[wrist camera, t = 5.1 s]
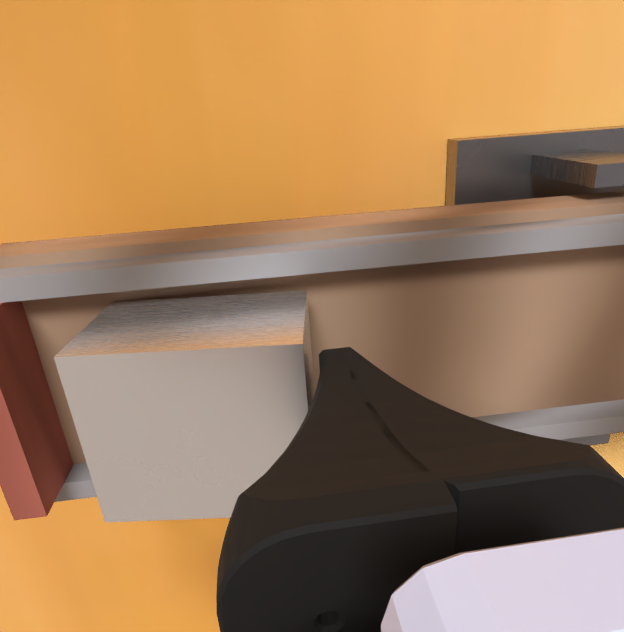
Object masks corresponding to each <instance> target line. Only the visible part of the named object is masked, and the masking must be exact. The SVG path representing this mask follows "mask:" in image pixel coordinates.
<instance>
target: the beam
mask: <svg viewBox="0 0 624 632" xmlns="http://www.w3.org/2000/svg"><path fill="white" fill-rule="evenodd" d="M291 291H307V299H308V312H309V325H310V338H311V351H312V364H313V377H314V390H315V391H316V388H317V384H318V380H319V375H320V367H319V354H320V353H321V351H322V350H326V349H335V348H343V347H351V348H352V349H354V350H355V351H356V352H358V353H359V354H360V355H362V356H363V357H364V358H365V359H367V360H368V361H369V362H371V363H372V364H373V365H375V366H376V367H378V368H379V369H380V370H382V371H383V372H385V373H386V374H387V375H389V376H390V377H392V378H393V379H395V380H397V381H398V382H400V383H401V384H403V385H405V386H406V387H408V388H410V389H411V390H413V391H415V392H417V393H418V394H420V395H422V396H424V397H426V398H428V399H430V400H432V401H434V402H436V403H438V404H440V405H443V406H445V407H447V408H449V409H451V410H454V411H456V412H459V413H461V414H464V415H467V416H469V417H472V418H475V419H478V420H481V421H484V422H486V423H490V424H493V425H496V426H500V427H503V428H506V429H510V430H514V431H518V432H522V433H526V434H530V435H535V436H539V437H545V438H551V439H556V440H562V439H570V438H578V437H586V436H594V435H603V434H611V433H619V432H624V191H614V192H602V193H591V194H579V195H567V196H556V197H544V198H532V199H520V200H509V201H497V202H485V203H473V204H462V205H450V206H438V207H426V208H415V209H403V210H391V211H379V212H368V213H356V214H344V215H333V216H321V217H309V218H297V219H286V220H274V221H262V222H250V223H239V224H227V225H215V226H203V227H192V228H180V229H168V230H156V231H145V232H133V233H121V234H110V235H98V236H86V237H74V238H63V239H51V240H39V241H27V242H16V243H4V244H1V245H0V486H1V488H2V491H3V493H4V496H5V498H6V501H7V503H8V506H9V508H10V511H11V513H12V516H13V518H14V520H20V519H28V518H36V517H44V516H47V515H48V513H49V511H50V509H51V507H52V505H53V503H54V502H57V501H65V500H73V499H82V498H90V497H97V495H96V491H95V488H94V485H93V482H92V479H91V475H90V472H89V469H88V466H87V463H86V459H85V456H84V453H83V450H82V447H81V443H80V440H79V437H78V434H77V431H76V427H75V424H74V421H73V418H72V415H71V411H70V408H69V405H68V402H67V399H66V395H65V392H64V389H63V386H62V383H61V379H60V376H59V373H58V370H57V367H56V363H55V360H54V356H55V355H56V354H57V353H59V352H60V351H61V350H62V349H63V348H64V347H65V346H66V345H67V344H68V343H69V342H70V341H71V340H72V339H73V338H74V337H76V336H77V335H78V334H79V333H80V332H81V331H82V330H83V329H84V328H85V327H86V326H87V325H88V324H89V323H90V322H92V321H93V320H94V319H95V318H96V317H97V316H98V315H99V314H100V313H101V312H102V311H103V310H104V309H105V308H106V307H107V306H109V305H110V304H111V303H112V302H119V301H136V300H153V299H171V298H188V297H205V296H222V295H239V294H257V293H274V292H291Z"/></svg>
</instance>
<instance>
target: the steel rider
mask: <svg viewBox="0 0 624 632" xmlns="http://www.w3.org/2000/svg"><path fill="white" fill-rule="evenodd" d="M54 360H55V363H56V367H57V370H58V373H59V376H60V379H61V383H62V386H63V389H64V392H65V395H66V399H67V402H68V405H69V408H70V411H71V415H72V418H73V421H74V424H75V427H76V431H77V434H78V437H79V440H80V443H81V447H82V450H83V453H84V456H85V459H86V463H87V466H88V469H89V472H90V475H91V479H92V482H93V485H94V488H95V491H96V495H97V498H98V501H99V504H100V507H101V511H102V514H103V517H104V520H105V522H126V521H152V520H178V519H205V518H231V515H232V512H233V509H234V507H235V504H236V501H237V498H238V496H239V495H240V494H241V493H242V492H244V491H245V490H246V489H248V488H249V487H250V486H251V485H252V484H253V483H255V482H256V481H257V480H258V479H259V478H261V477H262V476H263V475H264V474H265V473H266V472H267V471H268V470H269V469H270V467H271V466H272V465H273V464H274V463H275V462H276V461H277V459H278V458H279V457H280V456H281V455H282V454H283V452H284V451H285V450H286V448H287V447H288V446H289V444H290V443H291V441H292V439H293V438H294V436H295V435H296V433H297V432H298V430H299V428H300V426H301V424H302V423H303V421H304V419H305V417H306V415H307V412H308V410H309V408H310V405H311V402H312V400H313V397H314V394H315V390H314V377H313V364H312V351H311V338H310V325H309V312H308V299H307V291H291V292H274V293H257V294H239V295H222V296H205V297H188V298H171V299H153V300H136V301H119V302H112V303H111V304H110V305H109V306H107V307H106V308H105V309H104V310H103V311H102V312H101V313H100V314H99V315H98V316H97V317H96V318H95V319H94V320H93V321H92V322H90V323H89V324H88V325H87V326H86V327H85V328H84V329H83V330H82V331H81V332H80V333H79V334H78V335H77V336H76V337H74V338H73V339H72V340H71V341H70V342H69V343H68V344H67V345H66V346H65V347H64V348H63V349H62V350H61V351H60V352H59V353H57V354H56V355H55V356H54Z"/></svg>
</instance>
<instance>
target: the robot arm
mask: <svg viewBox="0 0 624 632" xmlns="http://www.w3.org/2000/svg"><path fill="white" fill-rule="evenodd" d="M319 367H320V375H319V380H318V384H317V388H316V391H315V394H314V397H313V400H312V402H311V405H310V408H309V410H308V412H307V415H306V417H305V419H304V421H303V423H302V424H301V426H300V428H299V430H298V432H297V433H296V435H295V436H294V438H293V439H292V441H291V443H290V444H289V446H288V447H287V448H286V450H285V451H284V452H283V454H282V455H281V456H280V457H279V458H278V459H277V461H276V462H275V463H274V464H273V465H272V466H271V467H270V469H269V470H268V471H267V472H266V473H265V474H264V475H263V476H262V477H261V478H259V479H258V480H257V481H256V482H255V483H253V484H252V485H251V486H250V487H249V488H248V489H246V490H245V491H244V492H242V493H241V494H240V495H239V496H238V498H237V501H236V504H235V507H234V509H233V512H232V515H231V518H230V521H229V524H228V527H227V531H226V534H225V538H224V542H223V546H222V550H221V555H220V560H219V566H218V577H217V617H218V622H219V626H220V631H221V632H624V478H623V477H622V476H621V475H620V474H619V473H618V472H617V471H616V470H615V469H614V468H613V467H612V466H611V465H610V464H608V463H607V462H606V461H605V460H604V459H603V458H602V457H601V456H600V455H599V454H598V453H597V452H596V451H595V450H594V449H593V448H592V447H590V446H589V445H585V444H579V443H573V442H568V441H562V440H556V439H551V438H545V437H539V436H535V435H530V434H526V433H522V432H518V431H514V430H510V429H506V428H503V427H500V426H496V425H493V424H490V423H486V422H484V421H481V420H478V419H475V418H472V417H469V416H467V415H464V414H461V413H459V412H456V411H454V410H451V409H449V408H447V407H445V406H443V405H440V404H438V403H436V402H434V401H432V400H430V399H428V398H426V397H424V396H422V395H420V394H418V393H417V392H415V391H413V390H411V389H410V388H408V387H406V386H405V385H403V384H401V383H400V382H398V381H397V380H395V379H393V378H392V377H390V376H389V375H387V374H386V373H385V372H383V371H382V370H380V369H379V368H378V367H376V366H375V365H373V364H372V363H371V362H369V361H368V360H367V359H365V358H364V357H363V356H362V355H360V354H359V353H358V352H356V351H355V350H354V349H352V348H351V347H343V348H335V349H326V350H322V351H321V353H320V354H319Z"/></svg>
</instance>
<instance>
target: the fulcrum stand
mask: <svg viewBox="0 0 624 632" xmlns="http://www.w3.org/2000/svg"><path fill="white" fill-rule="evenodd" d="M614 191H624V126H614V127H601V128H588V129H575V130H562V131H549V132H536V133H523V134H510V135H497V136H484V137H471V138H458V139H448V150H447V173H446V196H445V206H450V205H462V204H473V203H485V202H497V201H509V200H520V199H532V198H544V197H556V196H567V195H579V194H591V193H602V192H614ZM609 437H610V434H603V435H594V436H586V437H578V438H570V439H562V441H568V442H573V443H579V444H585V445H589V446H590V445H597V444H604V443H608V441H609Z"/></svg>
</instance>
